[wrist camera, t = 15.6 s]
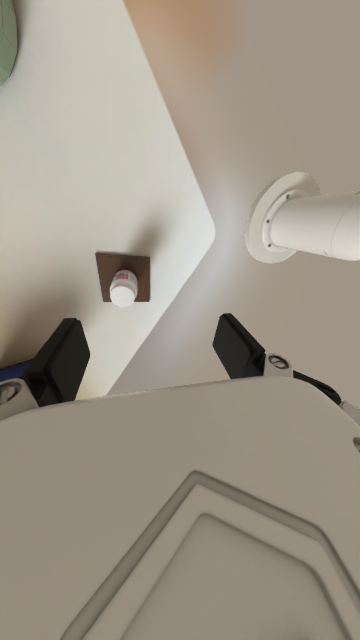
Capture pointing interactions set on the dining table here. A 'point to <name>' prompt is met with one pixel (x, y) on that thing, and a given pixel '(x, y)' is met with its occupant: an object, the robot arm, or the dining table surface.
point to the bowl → (7, 38)
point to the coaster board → (115, 263)
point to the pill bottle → (123, 288)
